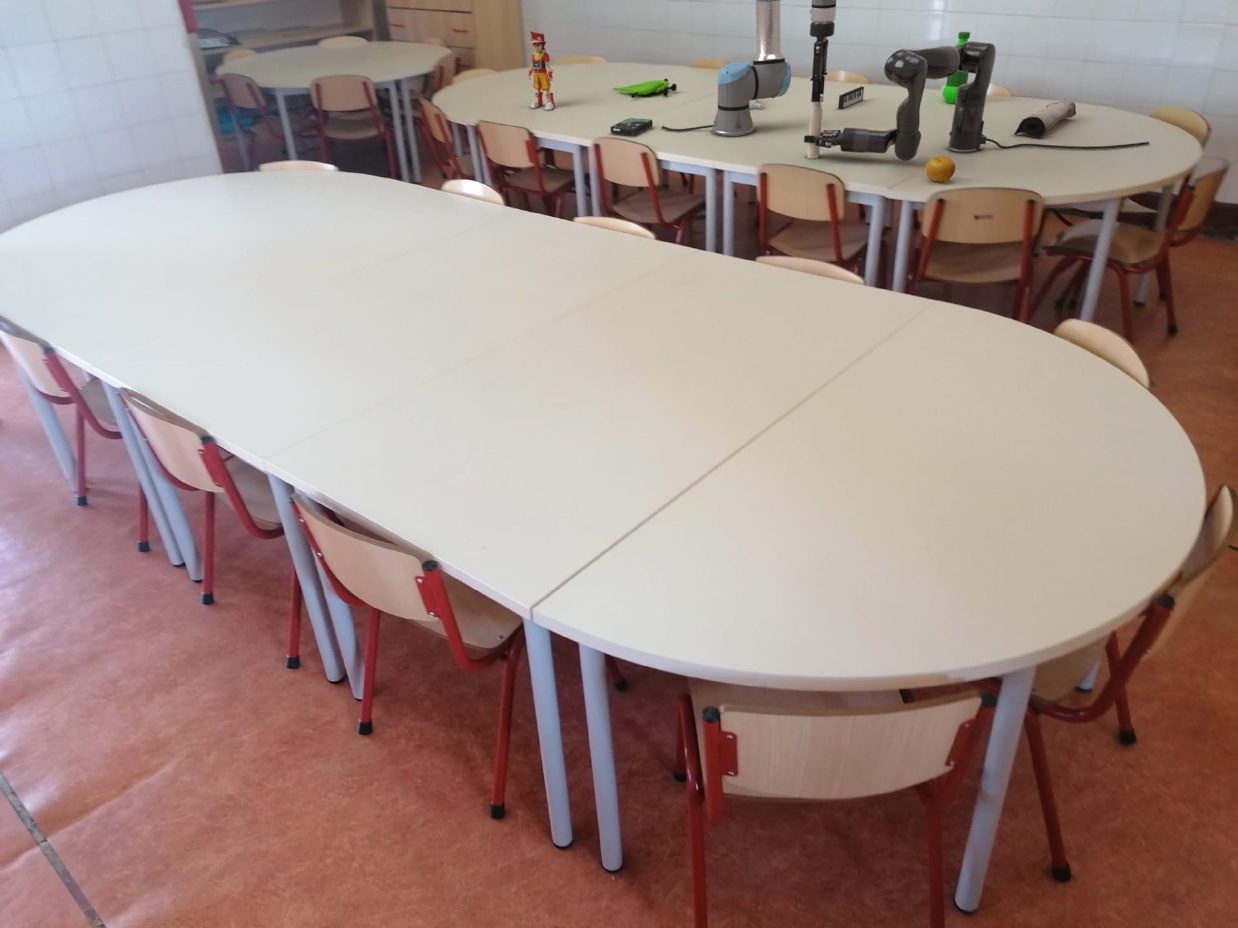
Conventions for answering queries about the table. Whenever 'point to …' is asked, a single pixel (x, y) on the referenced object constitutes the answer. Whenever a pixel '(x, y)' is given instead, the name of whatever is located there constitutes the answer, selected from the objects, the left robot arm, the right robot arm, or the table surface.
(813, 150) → the bottle
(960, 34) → the plastic bottle
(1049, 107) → the rolled mat
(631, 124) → the disk drive
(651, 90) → the toy
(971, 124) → the right robot arm
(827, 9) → the left robot arm
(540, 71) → the toy
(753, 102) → the anatomical model
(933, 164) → the fruit
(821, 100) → the cap
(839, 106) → the midi keyboard
